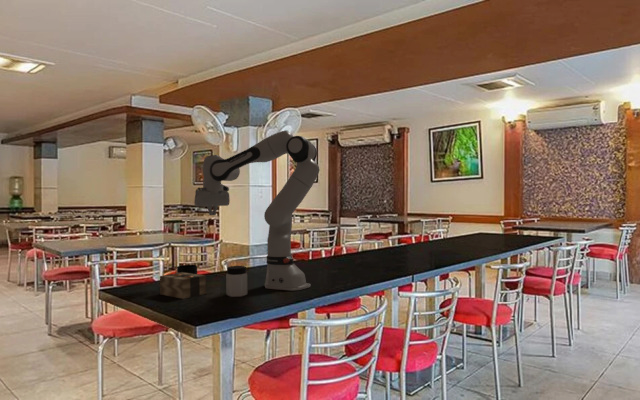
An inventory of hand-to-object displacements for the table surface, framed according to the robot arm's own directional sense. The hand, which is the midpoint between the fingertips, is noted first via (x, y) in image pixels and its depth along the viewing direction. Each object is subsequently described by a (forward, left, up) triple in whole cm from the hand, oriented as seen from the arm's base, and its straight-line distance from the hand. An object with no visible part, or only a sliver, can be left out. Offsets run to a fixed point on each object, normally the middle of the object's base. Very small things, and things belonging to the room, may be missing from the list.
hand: (212, 215), depth 233 cm
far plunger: (-8, +28, -32) cm, 44 cm away
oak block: (-12, +28, -33) cm, 45 cm away
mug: (+2, +14, -33) cm, 36 cm away
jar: (-33, +16, -33) cm, 50 cm away
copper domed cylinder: (-16, +28, -33) cm, 46 cm away
